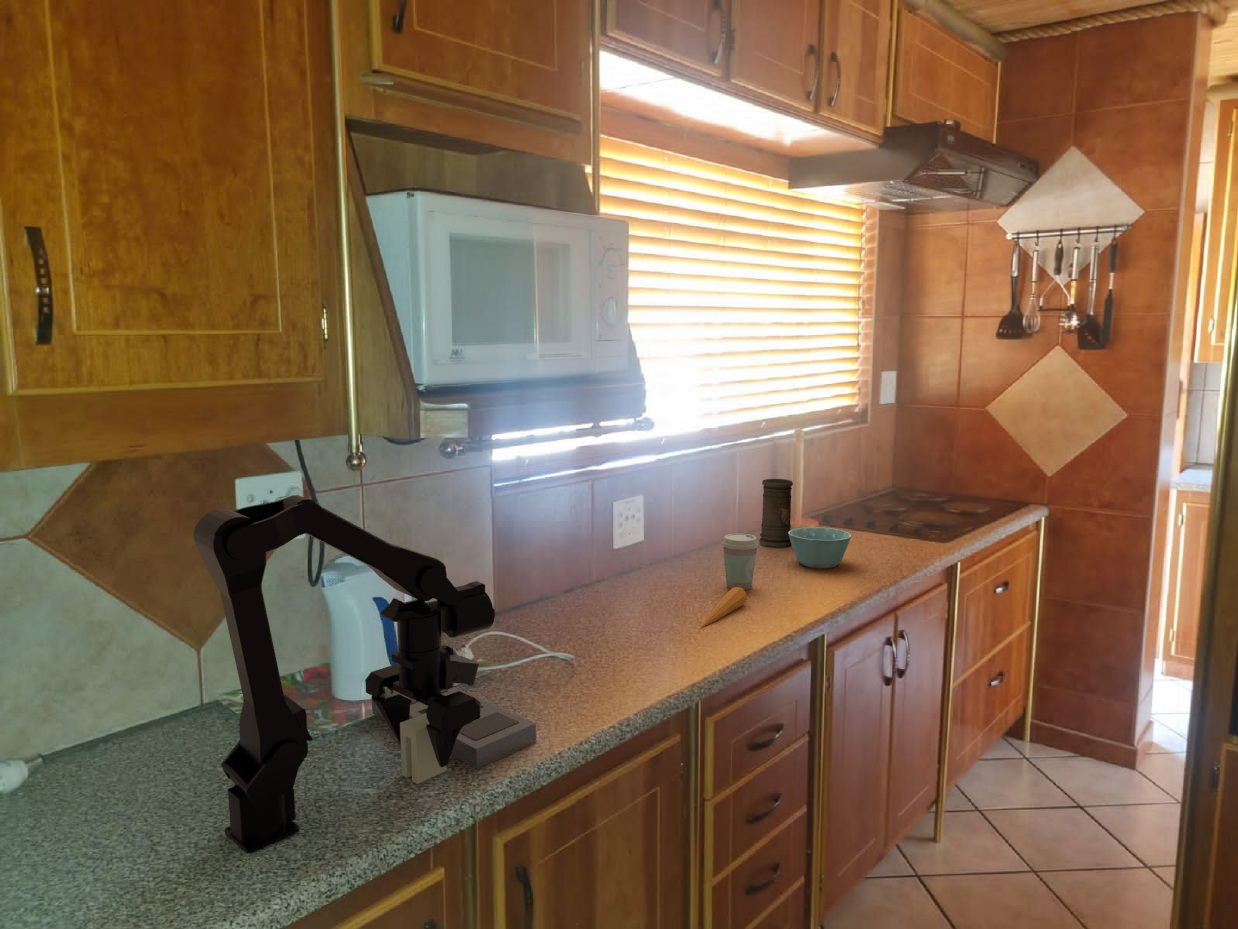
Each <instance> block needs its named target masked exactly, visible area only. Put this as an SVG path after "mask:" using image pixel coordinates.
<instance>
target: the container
mask: <svg viewBox="0 0 1238 929" xmlns="http://www.w3.org/2000/svg"><path fill="white" fill-rule="evenodd" d="M761 485H762V488H763V494H762V516H761V517H762V518H761V525H760V526H761V531H760V532H761V533H760V534H759V536H760V538H759V540H758V543H759V545H761V546H764V547H769V548H786V547H787V548H788V547H790V546H792V544H791V541H790V538H789V534H788V532H789V531H790V530H791V527H792V525H791V514H792V513H791V512H792V487H793V485H794V482H793V480H791V479H786V478H785V479H784V478H767V479H766V478H765V479H763V480H762V482H761Z"/></svg>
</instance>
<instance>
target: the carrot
mask: <svg viewBox="0 0 1238 929" xmlns="http://www.w3.org/2000/svg"><path fill="white" fill-rule="evenodd" d="M746 602H747V592H746V590H743V589H742V588H739V587H734V588H732V589H730V590H728V591H727V592H726V594H725V595H724V596H723V597H722V599H720V601H719V602H718V603H717V605H716V606H715V607H714V608H713V610H711V612H710V613H709V614H708V616H707V617H706V619H705V620H704V622H703V623H702V625H701V626H700V629H701V628H704V627H706V626H708V625H710V624H712V623H715V622H716V621H718V620H720V619H722V618H723V617H725V616H727V615H728V614H730V613H732V612H733V611H735V610H736V609H739V608H741V607H742V606H743V605H745V603H746Z"/></svg>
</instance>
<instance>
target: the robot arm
mask: <svg viewBox="0 0 1238 929" xmlns="http://www.w3.org/2000/svg"><path fill="white" fill-rule="evenodd" d="M305 534H306V535H307V536H309V537H311V538H313V539H315V540H317V541H319V542H321V543H323V544H325V545H326V546H329V547H331V548H333V549H335V550H336V551H339V552H341V553H343V554H344V555H346V556H349V557H350V558H352V559H354V560H357V561H359V562H360V563H362V564H364V565H365V566H367V567H369V569H371V570H372V571H373V572H375V574H376V575H377V576H378V577H379V578H380V579H381V580H382V581H384V582H385V583H386V584H388V585H389V586H390V587H391V588H393V589H394V590H396V591H398V592H401V593H403V594H404V595H408V596H409V597H412V598H414V599H412V600H409V601H402V600H400V599H397V598H395V597H394V598H392V600H391V601H390V603H389V604H388V605H386V606H385V607H384V608H383V609H382V610H381V611H380V616H382V617H383V618H385V619H388V620H389V621H391V622H394V623H396V625H397V626H396V627H397V628H396V629H397V630H396V631H397V651H396V652H393V653H391V661H392V662H393V663H394V664H391V665H389V666H385V667H383V668H379V669H376V670H373V671H370V673H369V674H368V676H366V679H365V680H364V681H365V694H368V695H370V696H371V702H372V701H374V702H375V703H376V705H377V707H378V708H379V710H380V711H381V713H382V715H383V716H384V718H385V720H386V721H387V722H386V721H385V722H386V723H387V724H388V727H389V728H390V730H391V731H392V733H393V736H394V737H395V739H396V742H398V744H399V745H400V746H401V739H400V723H401V722H404V721H406V720H409V718H410V704H411V702H412V701H419V702H421V703H423V704H425V705H427V706H428V708H427V709H426V717H427V719H428V721H429V723H430V724H428V725H426V728H427V731H428V734H429V737H430V740H431V743H432V746H433V750H434V753H435V756H436V759H437V761H438V764H439V766H440V767H444V766H446V767H447V766H448V765H449V762H450V759H451V757H452V756H451V753H452V750H453V747H454V744H455V742H456V739H457V736H458V734H459V732H460V730H461V729H462V727H463V726H464V725H467V724H469V723H471V722H473V721H475V720H477V719H480V717H481V702H479V701H478V700H477V699H476V698H474V697H472V696H469V695H467V694H465V693H463V692H460V691H458V692H455V693H452V694H449V695H446V696H445V695H442V694H440V693H441V690H443V689H445V690H448V689H451V688H453V687H454V684H463V685H468V686H471V687H472V686H474V684H475V683H476V682H475V681H476V677H477V674H478V671H479V670H478V669H479V666H480V663H479V661H478V662H477V661H475V660H473V659H470V658H468V657H465V656H463V655H459V654H456V653H455V651H454V648H453V647H452V646H449V645H446V644H442V633H445V635H446V636H448V637H449V638H457V637H460V636H465V635H469V634H472V633H477V632H480V631H484V630H488V629H490V628H491V627H492V626H493V624H494V622H495V616H496V612H495V611H496V610H495V607H493V603H492V600H491V598H490V596H489V595H488V593H487V592H486V584H485V583H482V582H480V581H477V580H476V581H471V582H469V583H466V584H464V585H459V586H455V585H454V584H453V583H452V582H451V581H450V579H449V578H448V577H447V575H448V574H447V566H446V565H445V563H443V562H442V561H441V560H440V559H438V558H436V557H433V556H430V555H427V554H426V553H425V554H424V553H422V552H419V551H416V550H413V549H410V548H407V547H404V546H400V545H398V544H394V543H390V542H387V541H386V540H384V539H382V538H380V537H379V536H377V535H376V534H375V535H374V534H373V533H371V532H369V531H367V530H366V529H364V528H362V527H360V526H358V525H356V524H354V523H353V522H351V521H348V520H347V519H345V518H344V517H342V516H340V515H337V514H336V513H334V512H333V511H330V510H329V509H326V508H325V507H323V506H322V505H321V504H320V503H319V502H317V501H316V500H314V499H311V498H308V497H306V496H305V497H304V496H302V495H299V494H296V495H295V494H294V495H290V496H286V497H285V498H282V499H278V500H275V501H270V502H269V501H268V502H264V503H260V504H254V505H249V506H248V505H247V506H244V507H241V508H237V509H234V510H232V509H227V508H219V509H218V508H216V509H213V510H212V511H209V512H207V513H206V514H204V515H203V516H202V517H201V518H200V520H199V521H198V523H197V524H196V525H195V526H194V529H193V541H194V543H195V546H196V549H197V551H198V553H199V556H200V557H201V560H202V562H203V564H204V566H205V569H207V571H208V573H209V575H210V576H211V578H212V580H213V582H214V583H215V585H216V587H217V588H218V590H219V593H220V594H219V595H220V598H221V603H222V606H223V607H222V608H223V611H224V616H225V621H226V625H227V630H228V635H229V639H230V643H231V648H232V653H233V657H234V661H235V666H236V671H237V675H238V680H239V684H240V688H241V693H242V699H243V703H242V708H241V712H240V715H239V716H240V717H239V724H238V725H239V741H238V742H237V743H236V744H235V746H234V747H233V748H232V749H231V750H230V751H229V754H227V756H226V757H225V758H224V760H223V761H222V762H221V765H220V767H221V769H222V771H223V773H224V774H225V776H226V778H227V779H229V780H230V781H231V782H233V784H234V786H232V787H229V788H227V798H228V812H229V826H227V827H225V828H224V834H225V835H226V836H227V837H228V838H230V839H231V840H232V841H233V842H234V843H236V844H237V845H238V846H239V847H240V848H241V849H242V850H244V851H245V852H246V853H252V852H255V851H256V850H260V849H262V848H263V847H266V846H268V845H270V844H273V843H275V842H277V841H280V840H281V839H282V840H283V839H284V838H287V837H289V836H292V835H294V834H296V833H298V832H299V831H300V826H299V825H298V824H297V823H296V822H294V821H295V820H296V816H297V815H296V801H295V800H296V796H295V795H296V794H295V788H294V786H295V782H296V779H297V776H298V772H299V769H300V766H301V765H302V764H303V763H304V761H305V759H306V758H307V757H308V753H309V744H308V742H310V741H313V739H314V738H313V737H312V735H311V734H310V733H309V729H308V722H307V721H308V720H307V719H308V717H307V715H308V714H307V710H306V709H305V708H304V707H303V706H301V705H300V704H298V703H297V702H296V701H295V700H293V699H292V698H291V697H289V696H288V695H287V694H284V690H283V685H282V681H281V680H282V679H281V675H280V671H279V665H278V661H277V655H276V651H275V646H274V642H273V637H272V631H271V628H270V623H269V617H268V613H267V612H268V611H267V608H266V604H265V599H264V592H263V587H262V585H263V580H264V576H265V571H266V567H267V553H268V552H270V551H274V550H276V549H278V548H280V547H283V546H284V545H286V544H288V543H290V542H291V541H293V540H295V539H296V538H297V537H300V536H303V535H305ZM433 599H434V600H433ZM431 600H432V601H431ZM395 663H396V664H395Z"/></svg>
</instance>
